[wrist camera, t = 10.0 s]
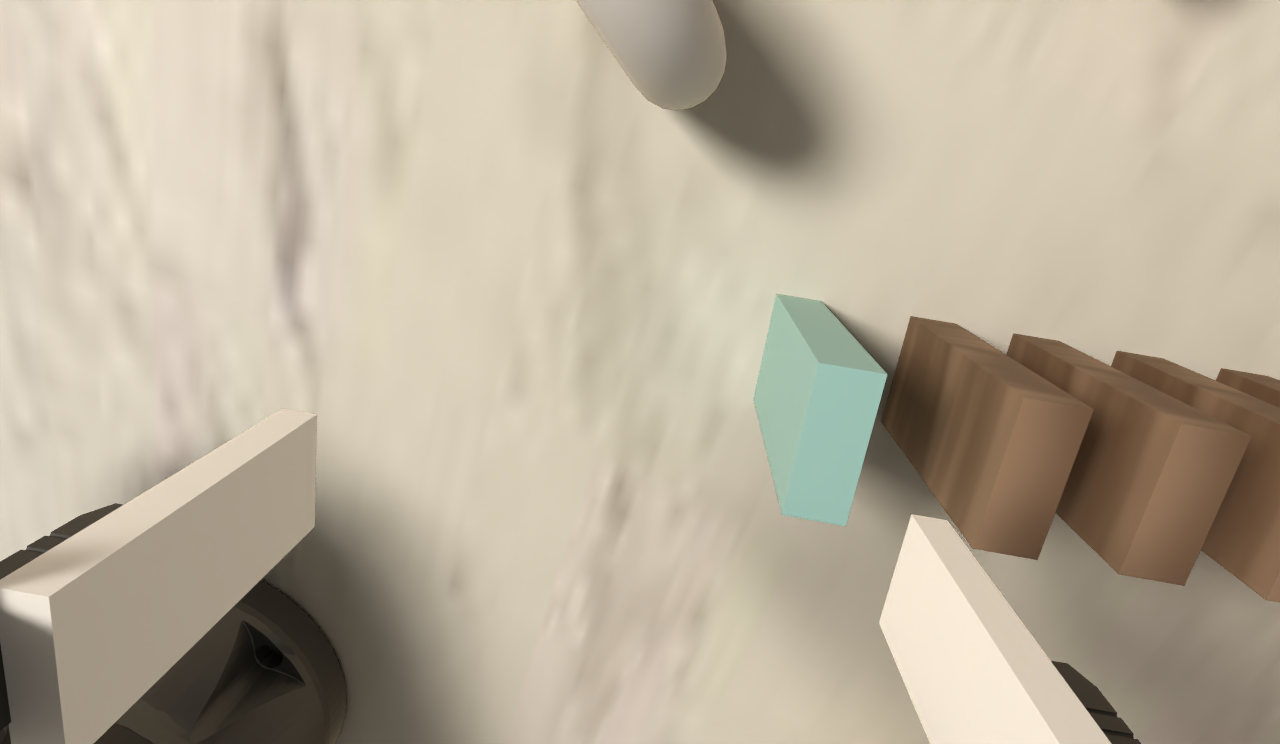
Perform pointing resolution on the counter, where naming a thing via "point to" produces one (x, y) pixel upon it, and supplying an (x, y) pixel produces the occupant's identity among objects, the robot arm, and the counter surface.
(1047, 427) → the domino
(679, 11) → the donut
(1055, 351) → the domino
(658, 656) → the counter surface
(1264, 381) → the domino
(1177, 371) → the domino
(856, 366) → the tile
